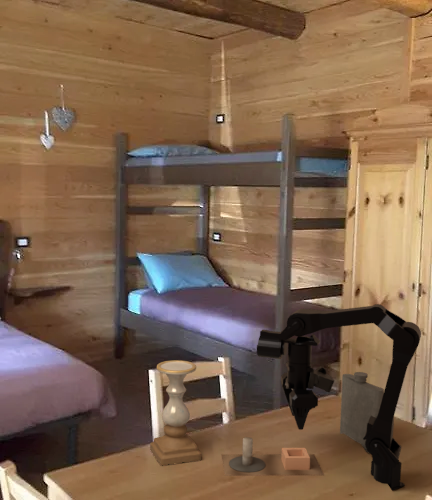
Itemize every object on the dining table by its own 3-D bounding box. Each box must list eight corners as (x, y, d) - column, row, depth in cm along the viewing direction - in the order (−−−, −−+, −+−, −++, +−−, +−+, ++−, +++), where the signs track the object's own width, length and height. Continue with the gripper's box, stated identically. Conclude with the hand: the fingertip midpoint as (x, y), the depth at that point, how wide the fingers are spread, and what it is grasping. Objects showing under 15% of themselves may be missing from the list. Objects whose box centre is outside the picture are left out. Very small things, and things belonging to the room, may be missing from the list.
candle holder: (149, 449, 176) (150, 361, 173) (188, 444, 180) (190, 358, 177) (160, 466, 166) (161, 373, 163) (202, 460, 170) (203, 369, 167)
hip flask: (383, 453, 176) (386, 380, 174) (370, 456, 174) (374, 382, 172) (346, 432, 190) (349, 364, 188) (335, 434, 189) (337, 366, 187)
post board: (314, 459, 171) (315, 430, 171) (324, 481, 160) (325, 449, 159) (221, 460, 170) (222, 429, 169) (224, 481, 158) (225, 449, 157)
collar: (304, 459, 168) (305, 447, 168) (309, 469, 162) (309, 457, 162) (281, 459, 168) (281, 447, 167) (285, 469, 162) (285, 457, 162)
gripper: (340, 372, 154) (338, 437, 156) (324, 351, 173) (322, 409, 174) (293, 372, 154) (291, 437, 155) (281, 351, 172) (279, 409, 174)
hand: (297, 422), depth 165 cm, fingers open, 9 cm apart
